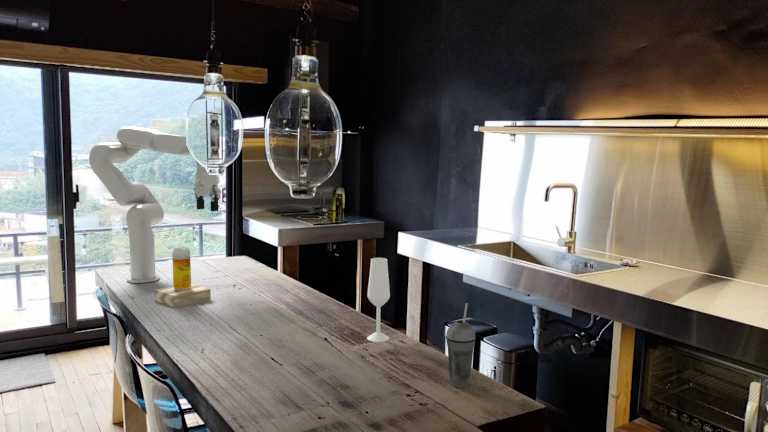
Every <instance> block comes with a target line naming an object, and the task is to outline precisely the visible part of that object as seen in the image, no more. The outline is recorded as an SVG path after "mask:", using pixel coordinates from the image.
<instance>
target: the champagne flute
mask: <svg viewBox="0 0 768 432" xmlns="http://www.w3.org/2000/svg"><path fill="white" fill-rule="evenodd" d="M369 266H370V267H369V277H368V285H367V293H366V294H367V295H366V296H367V298H368V301H369V302H370V303H371V304H372V305H374V307H376V321H375V322H376V323H375V325H376V328H375V329H376V331H375V332H374V333H372V334H370V335H368V336H367V337H366V339H367V340H368V341H370V342H373V343H383V342H387V341H389V340H390V337H389V336H388V335H386V334H385V333H382V332H381V307H383V306H384V305H385V304H386V303H387V302H388V301H389V299H390V297H391V292H390V279H389V266H388V259H387V258H385V257H373V258H370V265H369Z"/></svg>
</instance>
